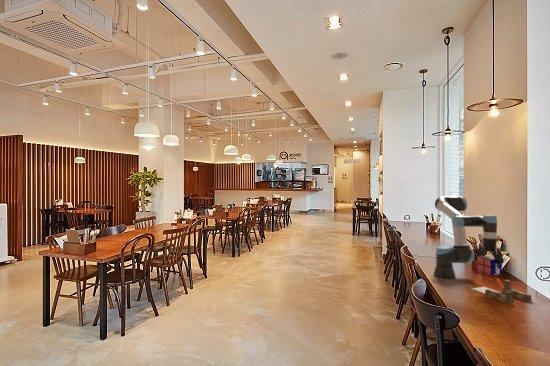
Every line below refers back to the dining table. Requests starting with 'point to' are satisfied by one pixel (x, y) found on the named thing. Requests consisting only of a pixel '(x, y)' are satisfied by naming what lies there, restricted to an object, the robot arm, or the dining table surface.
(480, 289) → the white square panel
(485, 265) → the puzzle cube
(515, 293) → the plane body cradle
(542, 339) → the dining table surface
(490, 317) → the dining table surface
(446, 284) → the dining table surface
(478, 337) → the dining table surface
